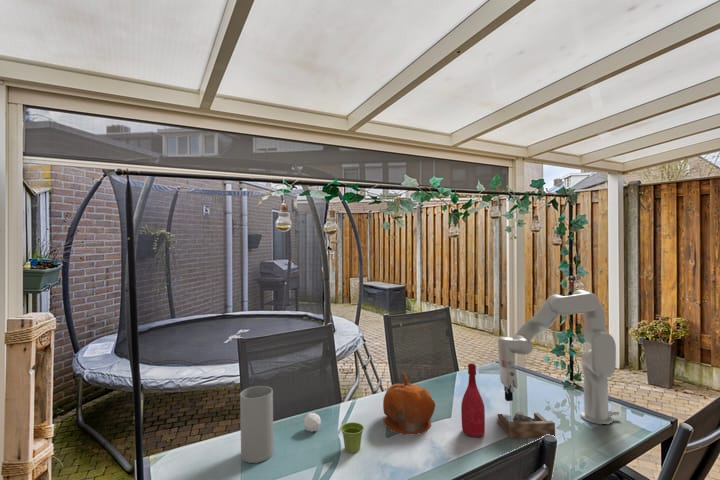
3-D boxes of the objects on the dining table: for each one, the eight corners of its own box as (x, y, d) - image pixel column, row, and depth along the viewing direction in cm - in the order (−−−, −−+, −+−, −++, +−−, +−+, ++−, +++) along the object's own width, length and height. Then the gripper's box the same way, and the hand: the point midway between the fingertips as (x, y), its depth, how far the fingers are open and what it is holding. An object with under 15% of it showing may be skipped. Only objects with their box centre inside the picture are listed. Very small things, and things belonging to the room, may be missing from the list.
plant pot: (351, 440, 156) (350, 419, 157) (368, 447, 150) (368, 426, 151) (336, 450, 149) (335, 428, 149) (354, 458, 143) (353, 436, 143)
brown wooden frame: (538, 421, 170) (538, 408, 170) (555, 437, 156) (554, 422, 156) (497, 422, 170) (497, 409, 170) (510, 438, 156) (510, 424, 156)
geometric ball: (308, 436, 166) (301, 418, 169) (324, 427, 168) (317, 410, 172) (307, 435, 159) (299, 417, 163) (324, 426, 162) (316, 408, 165)
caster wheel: (534, 429, 168) (540, 437, 158) (508, 421, 171) (512, 428, 161) (537, 414, 169) (543, 421, 159) (511, 407, 171) (515, 413, 162)
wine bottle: (469, 439, 155) (468, 368, 156) (457, 428, 165) (456, 361, 165) (489, 436, 158) (488, 366, 158) (476, 425, 167) (475, 359, 168)
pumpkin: (395, 407, 188) (394, 363, 188) (442, 419, 174) (441, 371, 174) (372, 425, 169) (371, 376, 169) (423, 440, 155) (422, 387, 156)
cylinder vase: (235, 455, 147) (234, 392, 147) (263, 443, 156) (262, 383, 156) (250, 468, 138) (249, 401, 138) (279, 454, 147) (278, 391, 147)
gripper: (521, 367, 174) (523, 406, 173) (508, 357, 189) (509, 393, 188) (506, 368, 174) (507, 407, 173) (493, 358, 188) (495, 394, 188)
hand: (508, 400), depth 181 cm, fingers closed
